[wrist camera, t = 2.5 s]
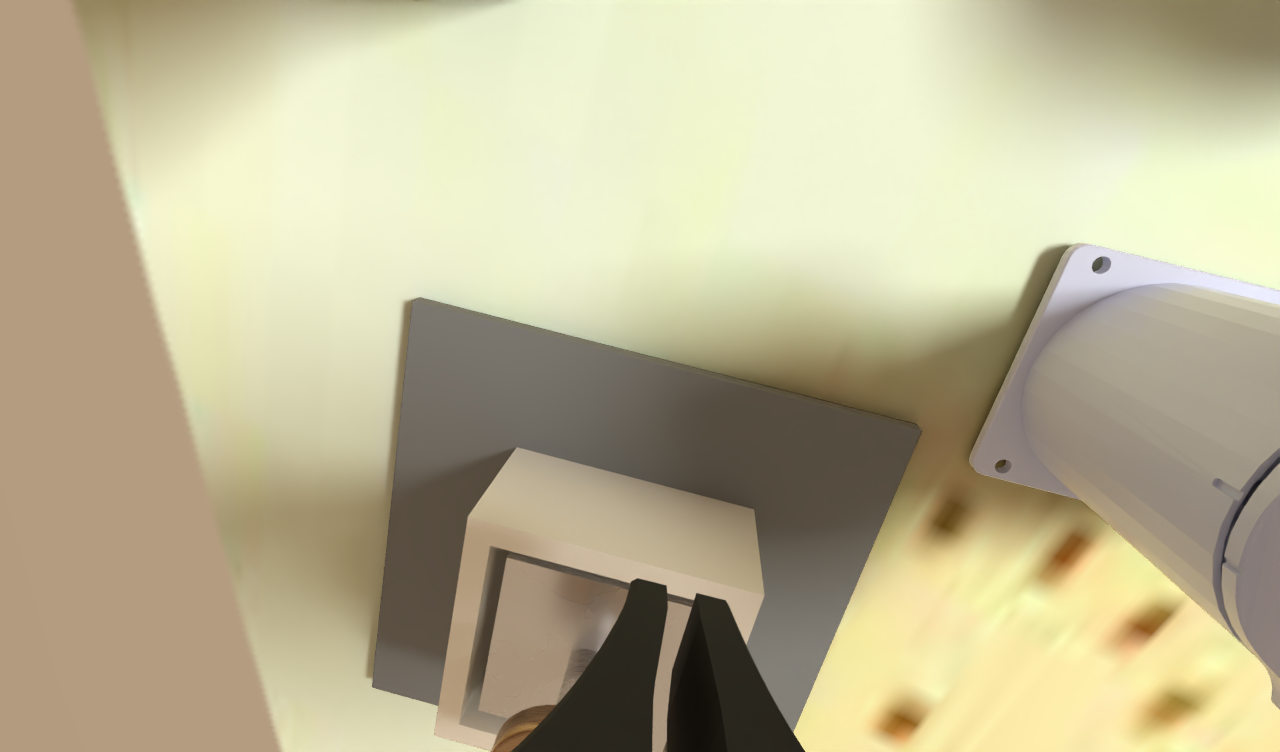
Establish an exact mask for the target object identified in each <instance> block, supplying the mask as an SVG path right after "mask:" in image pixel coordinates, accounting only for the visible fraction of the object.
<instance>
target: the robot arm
mask: <svg viewBox="0 0 1280 752" xmlns="http://www.w3.org/2000/svg"><path fill="white" fill-rule="evenodd" d="M1099 257H1102V259H1103V265H1102V267H1101V268H1100V269H1099V270H1097V271H1095V272H1093V270H1092V263H1093V262H1094V261H1095V259H1097V258H1099ZM1000 460H1006V463H1005V465H1004V466H1003V467H1000V468H995V464H996V463H997V462H998V461H1000ZM969 462H970V465H971V466H972V467H973V468H974V470H975V471H976V472H977V473H979V474H981V475H985V476H989V477H993V478H996V479H1000V480H1004V481H1008V482H1012V483H1016V484H1020V485H1024V486H1028V487H1031V488H1035V489H1039V490H1043V491H1047V492H1051V493H1055V494H1059V495H1062V496H1066V497H1070V498H1074V499H1078V500H1082V501H1083V502H1084V503H1085V504H1086V505H1087V506H1089V507H1090V508H1091V509H1092V510H1093V511H1094V512H1095V513H1096V514H1097V515H1099V516H1100V517H1101V518H1102V519H1103V520H1104V521H1105V522H1106V523H1108V524H1109V525H1110V526H1111V527H1112V528H1113V529H1114V530H1115V531H1116V532H1118V533H1119V534H1120V535H1121V536H1122V537H1123V538H1124V539H1125V540H1126V541H1128V542H1129V543H1130V544H1131V545H1132V546H1133V547H1134V548H1135V549H1136V550H1138V551H1139V552H1140V553H1141V554H1142V555H1143V556H1144V557H1145V558H1147V559H1148V560H1149V561H1150V562H1151V563H1152V564H1153V565H1154V566H1155V567H1157V568H1158V569H1159V570H1160V571H1161V572H1162V573H1163V574H1164V575H1165V576H1167V577H1168V578H1169V579H1170V580H1171V581H1172V582H1173V583H1174V584H1175V585H1177V586H1178V587H1179V588H1180V589H1181V590H1182V591H1183V592H1184V593H1186V594H1187V595H1188V596H1189V597H1190V598H1191V599H1192V600H1193V601H1194V602H1196V603H1197V604H1198V605H1199V606H1200V607H1201V608H1202V609H1203V610H1204V611H1206V612H1207V613H1208V614H1209V615H1210V616H1211V617H1212V618H1213V619H1214V620H1216V621H1217V622H1218V623H1219V624H1220V625H1221V626H1222V627H1223V628H1225V629H1226V630H1227V631H1228V632H1229V633H1230V634H1231V635H1232V636H1233V637H1235V638H1236V639H1237V640H1238V641H1239V642H1240V643H1241V644H1242V645H1243V646H1245V647H1246V648H1247V649H1248V650H1249V651H1250V652H1251V653H1252V654H1254V655H1255V656H1256V657H1257V658H1258V660H1259V661H1260V662H1261V663H1262V664H1263V665H1264V666H1265V668H1266V669H1267V671H1268V673H1269V675H1270V678H1271V682H1272V698H1271V700H1272V702H1273V703H1274V704H1275V705H1276V706H1277V707H1278V708H1279V709H1280V290H1276V289H1272V288H1267V287H1263V286H1259V285H1255V284H1251V283H1247V282H1243V281H1239V280H1235V279H1231V278H1227V277H1222V276H1218V275H1214V274H1210V273H1206V272H1202V271H1198V270H1194V269H1190V268H1186V267H1182V266H1177V265H1173V264H1169V263H1165V262H1161V261H1157V260H1153V259H1149V258H1145V257H1141V256H1137V255H1132V254H1128V253H1124V252H1120V251H1116V250H1112V249H1108V248H1104V247H1100V246H1096V245H1091V244H1086V243H1078V244H1075V245H1072V246H1071V247H1070V248H1068V249H1067V250H1066V251H1065V253H1064V254H1063V255H1062V257H1061V260H1060V262H1059V264H1058V266H1057V268H1056V270H1055V273H1054V275H1053V277H1052V279H1051V281H1050V283H1049V285H1048V288H1047V290H1046V292H1045V294H1044V296H1043V298H1042V301H1041V303H1040V305H1039V307H1038V309H1037V311H1036V314H1035V316H1034V318H1033V320H1032V322H1031V324H1030V326H1029V329H1028V331H1027V333H1026V335H1025V337H1024V339H1023V342H1022V344H1021V346H1020V348H1019V350H1018V352H1017V354H1016V357H1015V359H1014V361H1013V363H1012V365H1011V367H1010V370H1009V372H1008V374H1007V376H1006V378H1005V380H1004V383H1003V385H1002V387H1001V389H1000V391H999V393H998V395H997V398H996V400H995V402H994V404H993V406H992V408H991V411H990V413H989V415H988V417H987V419H986V421H985V423H984V426H983V428H982V430H981V432H980V434H979V436H978V439H977V441H976V443H975V445H974V447H973V449H972V452H971V454H970V457H969ZM667 610H668V597H667V585H663V584H659V583H655V582H651V581H647V580H643V579H639V578H637V579H635V580H633V581H631V583H630V587H629V591H628V594H627V598H626V602H625V604H624V606H623V609H622V611H621V613H620V615H619V617H618V619H617V621H616V622H615V624H614V626H613V628H612V629H611V631H610V633H609V634H608V636H607V638H606V640H605V641H604V643H603V644H602V646H601V648H600V649H599V651H598V652H597V653H596V655H595V656H594V658H593V659H592V661H591V662H590V663H589V665H588V666H587V668H586V669H585V670H584V672H583V673H582V675H581V676H580V677H579V679H578V680H577V681H576V682H575V684H574V685H573V686H572V687H571V689H570V690H569V691H568V692H567V694H566V695H565V696H564V697H563V698H562V699H561V701H560V702H559V703H558V704H557V705H556V706H555V708H554V709H553V710H552V711H551V712H550V713H549V714H548V715H547V716H546V717H545V718H544V719H543V720H542V722H541V723H540V724H539V725H538V726H537V727H536V728H535V729H534V730H533V731H532V732H531V733H530V734H529V735H528V736H527V737H526V738H525V739H524V740H523V741H522V742H521V743H520V744H519V745H518V746H516V747H515V748H514V749H513V750H512V751H511V752H652V735H653V698H654V688H655V680H656V674H657V669H658V663H659V657H660V651H661V646H662V640H663V634H664V628H665V622H666V616H667ZM667 752H805V751H804V749H803V748H802V746H801V745H800V743H799V741H798V740H797V738H796V737H795V735H794V733H793V732H792V730H791V728H790V727H789V725H788V723H787V722H786V720H785V718H784V716H783V715H782V713H781V711H780V710H779V708H778V706H777V704H776V703H775V701H774V699H773V697H772V695H771V693H770V692H769V690H768V688H767V686H766V684H765V682H764V680H763V678H762V676H761V674H760V672H759V670H758V668H757V666H756V664H755V662H754V660H753V658H752V656H751V654H750V652H749V650H748V648H747V645H746V643H745V641H744V639H743V637H742V635H741V632H740V630H739V628H738V625H737V623H736V621H735V619H734V616H733V614H732V612H731V609H730V607H729V605H728V603H727V602H726V600H723V599H719V598H715V597H711V596H707V595H703V594H699V593H696V596H695V599H694V602H693V606H692V609H691V612H690V615H689V618H688V621H687V624H686V628H685V631H684V634H683V637H682V640H681V643H680V646H679V650H678V653H677V656H676V659H675V662H674V665H673V668H672V675H671V684H670V693H669V703H668V713H667Z"/></svg>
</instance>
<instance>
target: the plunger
mask: <svg viewBox="0 0 1280 752" xmlns="http://www.w3.org/2000/svg"><path fill="white" fill-rule="evenodd" d="M629 587H630V583H628V582H624V581H620V580H617V579H613V578H609V577H605V576H602V575H598V574H594V573H591V572H587V571H583V570H579V569H576V568H572V567H568V566H564V565H561V564H557V563H553V562H549V561H546V560H542V559H538V558H535V557H531V556H527V555H523V554H520V553H516V552H512V551H510V552H509V554H508V556H507V559H506V564H505V570H504V575H503V581H502V586H501V591H500V597H499V602H498V607H497V613H496V618H495V624H494V629H493V634H492V640H491V645H490V650H489V656H488V661H487V667H486V672H485V677H484V683H483V688H482V694H481V699H480V704H479V711H482V712H486V713H490V714H493V715H497V716H500V717H504V718H508V720H507V721H506V722H505V723H504V724H503V725H502V727H501V728H500V730H499V732H498V734H497V736H496V739H495V742H494V744H493V747H492V750H491V752H511V751H512V750H513V749H514V748H515V747H516V746H518V745H519V744H520V743H521V742H522V741H523V740H524V739H525V738H526V737H527V736H528V735H529V734H530V733H531V732H532V731H533V730H534V729H535V728H536V727H537V726H538V725H539V724H540V723H541V722H542V720H543V719H544V718H545V717H546V716H547V715H548V714H549V713H550V712H551V711H552V710H553V709H554V708H555V706H556V705H557V704H558V703H559V702H560V701H561V699H562V698H563V697H564V696H565V695H566V694H567V692H568V691H569V690H570V689H571V687H572V686H573V685H574V684H575V682H576V681H577V680H578V679H579V677H580V676H581V675H582V673H583V672H584V670H585V669H586V668H587V666H588V665H589V663H590V662H591V661H592V659H593V658H594V656H595V655H596V653H597V652H598V651H599V649H600V648H601V646H602V644H603V643H604V641H605V640H606V638H607V636H608V634H609V633H610V631H611V629H612V628H613V626H614V624H615V622H616V621H617V619H618V617H619V615H620V613H621V611H622V609H623V606H624V604H625V602H626V598H627V594H628V591H629ZM667 597H668V610H667V616H666V622H665V628H664V634H663V640H662V646H661V651H660V657H659V663H658V669H657V674H656V680H655V688H654V698H653V735H652V752H663V750H664V747H665V744H666V741H667V713H668V703H669V693H670V684H671V675H672V668H673V665H674V662H675V659H676V656H677V653H678V650H679V646H680V643H681V640H682V637H683V634H684V631H685V628H686V624H687V621H688V618H689V615H690V612H691V609H692V606H693V602H694V600H691V599H688V598H684V597H680V596H676V595H673V594H669V593H667Z"/></svg>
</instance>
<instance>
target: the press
mask: <svg viewBox="0 0 1280 752" xmlns="http://www.w3.org/2000/svg"><path fill="white" fill-rule="evenodd" d="M510 551H512V552H516V553H520V554H523V555H527V556H531V557H535V558H538V559H542V560H546V561H549V562H553V563H557V564H561V565H564V566H568V567H572V568H576V569H579V570H583V571H587V572H591V573H594V574H598V575H602V576H605V577H609V578H613V579H617V580H620V581H624V582H628V583H631V581H633V580H635V579H637V578H639V579H643V580H647V581H651V582H655V583H659V584H663V585H667V593H669V594H673V595H676V596H680V597H684V598H688V599H691V600H694V599H695V596H696V593H699V594H703V595H707V596H711V597H715V598H719V599H723V600H726V602H727V603H728V605H729V607H730V609H731V612H732V614H733V616H734V619H735V621H736V623H737V625H738V628H739V630H740V632H741V635H742V637H743V639H744V641H745V643H746V645H747V642H748V639H749V636H750V634H751V631H752V628H753V626H754V623H755V620H756V617H757V615H758V612H759V609H760V606H761V604H762V601H763V598H764V596H765V595H764V587H763V579H762V570H761V562H760V554H759V546H758V538H757V529H756V521H755V513H754V509H751V508H747V507H743V506H739V505H735V504H732V503H728V502H724V501H720V500H716V499H713V498H709V497H705V496H701V495H697V494H694V493H690V492H686V491H682V490H678V489H674V488H671V487H667V486H663V485H659V484H655V483H652V482H648V481H644V480H640V479H636V478H632V477H629V476H625V475H621V474H617V473H613V472H610V471H606V470H602V469H598V468H594V467H591V466H587V465H583V464H579V463H575V462H571V461H568V460H564V459H560V458H556V457H552V456H549V455H545V454H541V453H537V452H533V451H530V450H526V449H522V448H518V447H517V448H516V449H515V450H514V452H513V453H512V455H511V456H510V457H509V459H508V460H507V462H506V463H505V465H504V466H503V467H502V469H501V470H500V472H499V473H498V474H497V476H496V477H495V479H494V480H493V482H492V483H491V484H490V486H489V487H488V489H487V490H486V492H485V493H484V494H483V496H482V497H481V499H480V500H479V501H478V503H477V504H476V506H475V507H474V509H473V510H472V511H471V513H470V514H469V516H468V519H467V526H466V532H465V539H464V545H463V552H462V558H461V564H460V571H459V577H458V584H457V590H456V597H455V603H454V609H453V616H452V622H451V629H450V635H449V641H448V648H447V654H446V661H445V667H444V674H443V680H442V686H441V693H440V699H439V706H438V712H437V719H436V725H435V731H434V735H435V736H438V737H442V738H446V739H449V740H453V741H456V742H460V743H464V744H467V745H471V746H474V747H478V748H481V749H485V750H489V751H491V750H492V747H493V744H494V742H495V739H496V736H497V734H498V732H499V730H500V728H501V727H502V725H503V724H504V723H505V722H506V721H507V720H508V718H504V717H500V716H497V715H493V714H490V713H486V712H482V711H479V704H480V699H481V694H482V688H483V683H484V677H485V672H486V667H487V661H488V656H489V650H490V645H491V640H492V634H493V629H494V624H495V618H496V613H497V607H498V602H499V597H500V591H501V586H502V581H503V575H504V570H505V564H506V559H507V556H508V554H509V552H510ZM663 752H667V741H666V744H665V747H664V750H663Z"/></svg>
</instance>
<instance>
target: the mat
mask: <svg viewBox="0 0 1280 752" xmlns="http://www.w3.org/2000/svg"><path fill="white" fill-rule="evenodd" d="M921 432H922V431H921V429H920V428H919V427H918V426H917V424H913V423H909V422H905V421H902V420H898V419H894V418H890V417H886V416H882V415H878V414H874V413H870V412H866V411H862V410H859V409H855V408H851V407H847V406H843V405H839V404H835V403H831V402H827V401H823V400H819V399H815V398H812V397H808V396H804V395H800V394H796V393H792V392H788V391H784V390H780V389H776V388H772V387H769V386H765V385H761V384H757V383H753V382H749V381H745V380H741V379H737V378H733V377H729V376H726V375H722V374H718V373H714V372H710V371H706V370H702V369H698V368H694V367H690V366H686V365H683V364H679V363H675V362H671V361H667V360H663V359H659V358H655V357H651V356H647V355H643V354H640V353H636V352H632V351H628V350H624V349H620V348H616V347H612V346H608V345H604V344H600V343H596V342H593V341H589V340H585V339H581V338H577V337H573V336H569V335H565V334H561V333H557V332H553V331H550V330H546V329H542V328H538V327H534V326H530V325H526V324H522V323H518V322H514V321H510V320H507V319H503V318H499V317H495V316H491V315H487V314H483V313H479V312H475V311H471V310H467V309H464V308H460V307H456V306H452V305H448V304H444V303H440V302H436V301H432V300H428V299H424V298H421V297H420V298H418V299H415V300H413V301H412V310H411V319H410V329H409V338H408V348H407V357H406V367H405V376H404V386H403V395H402V405H401V415H400V424H399V434H398V443H397V453H396V462H395V472H394V481H393V491H392V500H391V510H390V520H389V529H388V539H387V548H386V558H385V567H384V577H383V586H382V596H381V605H380V615H379V625H378V634H377V644H376V653H375V663H374V672H373V682H372V687H373V688H376V689H380V690H383V691H387V692H391V693H394V694H398V695H401V696H405V697H409V698H412V699H416V700H420V701H423V702H427V703H430V704H434V705H438V706H439V699H440V693H441V686H442V680H443V674H444V667H445V661H446V654H447V648H448V641H449V635H450V629H451V622H452V616H453V609H454V603H455V597H456V590H457V584H458V577H459V571H460V564H461V558H462V552H463V545H464V539H465V532H466V526H467V519H468V516H469V514H470V513H471V511H472V510H473V509H474V507H475V506H476V504H477V503H478V501H479V500H480V499H481V497H482V496H483V494H484V493H485V492H486V490H487V489H488V487H489V486H490V484H491V483H492V482H493V480H494V479H495V477H496V476H497V474H498V473H499V472H500V470H501V469H502V467H503V466H504V465H505V463H506V462H507V460H508V459H509V457H510V456H511V455H512V453H513V452H514V450H515V449H516V448H517V447H518V448H522V449H526V450H530V451H533V452H537V453H541V454H545V455H549V456H552V457H556V458H560V459H564V460H568V461H571V462H575V463H579V464H583V465H587V466H591V467H594V468H598V469H602V470H606V471H610V472H613V473H617V474H621V475H625V476H629V477H632V478H636V479H640V480H644V481H648V482H652V483H655V484H659V485H663V486H667V487H671V488H674V489H678V490H682V491H686V492H690V493H694V494H697V495H701V496H705V497H709V498H713V499H716V500H720V501H724V502H728V503H732V504H735V505H739V506H743V507H747V508H751V509H754V513H755V521H756V529H757V538H758V546H759V554H760V562H761V570H762V579H763V587H764V595H765V596H764V598H763V601H762V604H761V606H760V609H759V612H758V615H757V617H756V620H755V623H754V626H753V628H752V631H751V634H750V636H749V639H748V642H747V648H748V650H749V652H750V654H751V656H752V658H753V660H754V662H755V664H756V666H757V668H758V670H759V672H760V674H761V676H762V678H763V680H764V682H765V684H766V686H767V688H768V690H769V692H770V693H771V695H772V697H773V699H774V701H775V703H776V704H777V706H778V708H779V710H780V711H781V713H782V715H783V716H784V718H785V720H786V722H787V723H788V725H789V727H790V728H791V730H792V732H794V729H795V727H796V725H797V722H798V720H799V718H800V715H801V713H802V711H803V708H804V706H805V704H806V701H807V699H808V697H809V694H810V692H811V689H812V687H813V685H814V682H815V680H816V678H817V675H818V673H819V671H820V668H821V666H822V664H823V661H824V659H825V657H826V654H827V652H828V650H829V647H830V645H831V643H832V640H833V638H834V636H835V633H836V631H837V629H838V626H839V624H840V622H841V619H842V617H843V615H844V612H845V610H846V608H847V605H848V603H849V601H850V598H851V596H852V594H853V591H854V589H855V587H856V584H857V582H858V580H859V577H860V575H861V573H862V570H863V568H864V566H865V563H866V561H867V558H868V556H869V554H870V551H871V549H872V547H873V544H874V542H875V540H876V537H877V535H878V533H879V530H880V528H881V526H882V523H883V521H884V519H885V516H886V514H887V512H888V509H889V507H890V505H891V502H892V500H893V498H894V495H895V493H896V491H897V488H898V486H899V484H900V481H901V479H902V477H903V474H904V472H905V470H906V467H907V465H908V463H909V460H910V458H911V456H912V453H913V451H914V449H915V446H916V444H917V442H918V439H919V437H920V434H921Z"/></svg>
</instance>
